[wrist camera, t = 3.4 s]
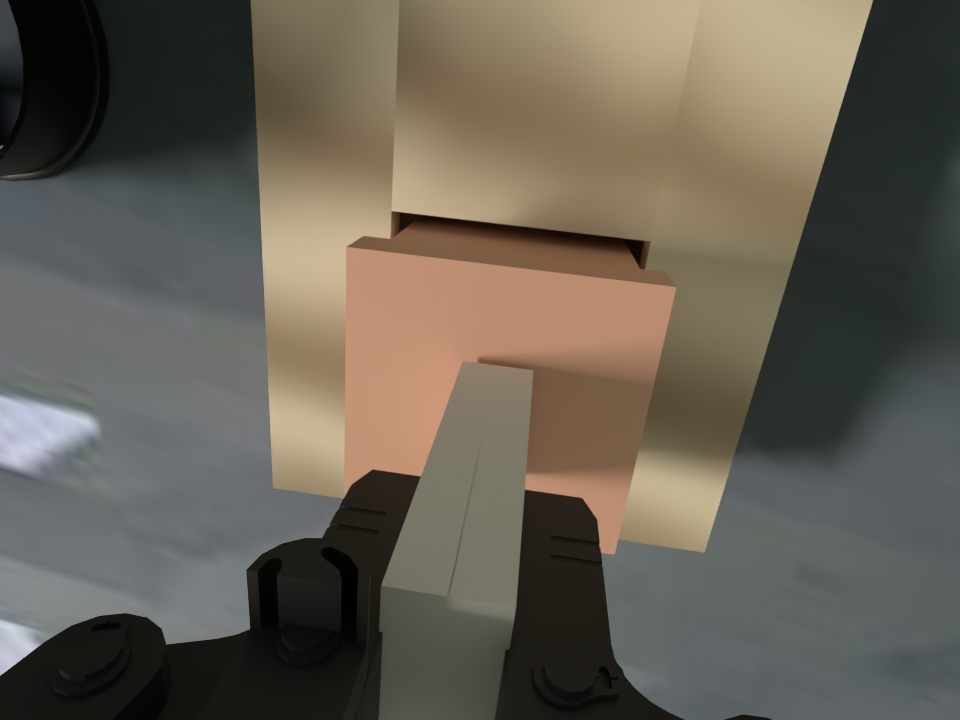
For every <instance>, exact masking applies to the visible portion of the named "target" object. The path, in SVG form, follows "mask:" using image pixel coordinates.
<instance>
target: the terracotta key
mask: <svg viewBox="0 0 960 720" xmlns="http://www.w3.org/2000/svg"><path fill="white" fill-rule="evenodd" d="M675 292H676V286H675V284H674V283H673V282H672V280H671V279H670V277H669V276H668V275H667V273H666V272H660V271H652V270H644V269H640V268H639V266H638V264H637V263H636V261H635V259H634V257H633V256H632V254H631V252H630V250H629V249H628V247H627V245H626V243H625V241H624V240H623V238H617V237H608V236H599V235H591V234H582V233H574V232H565V231H557V230H548V229H540V228H531V227H523V226H514V225H506V224H497V223H489V222H480V221H472V220H463V219H455V218H446V217H438V216H429V215H422V216H420V217H419V218H418V219H416V220H415V221H414V222H413V223H411V224H410V225H409V226H408V227H406V228H405V229H404V230H402V231H401V232H400V233H399V234H397V235H396V236H395V237H393V238H392V239H386V238H378V237H370V236H362V237H361V238H359V239H358V240H356V241H355V242H353V243H352V244H350V245H349V246H347V247H346V346H345V452H344V497H345V495H346V494H347V492H348V490H349V488H350V486H351V485H352V484H353V483H355V482H356V481H357V480H359V479H360V478H361V477H363V476H364V475H366V474H367V473H368V472H370V471H371V470H372V469H374V470H381V471H387V472H394V473H401V474H408V475H415V476H421V475H422V472H423V469H424V467H425V464H426V461H427V458H428V456H429V453H430V450H431V447H432V445H433V442H434V439H435V436H436V434H437V431H438V428H439V425H440V423H441V420H442V417H443V414H444V412H445V409H446V406H447V403H448V401H449V398H450V395H451V392H452V390H453V387H454V384H455V381H456V379H457V376H458V373H459V370H460V368H461V365H462V362H463V361H467V362H475V363H482V364H490V365H497V366H505V367H512V368H520V369H527V370H534V371H533V384H532V398H531V412H530V425H529V439H528V452H527V466H526V480H525V490H531V491H538V492H545V493H552V494H559V495H565V496H572V497H579V498H583V500H584V501H585V502H586V504H587V505H588V507H589V508H590V510H591V511H592V513H593V514H594V516H595V517H596V518H597V522H598V531H599V540H600V545H599V547H600V549H601V553H607V554H613V555H615V550H616V546H617V542H618V537H619V533H620V529H621V524H622V520H623V516H624V511H625V507H626V503H627V499H628V494H629V490H630V486H631V481H632V477H633V473H634V468H635V464H636V460H637V455H638V451H639V447H640V443H641V438H642V434H643V430H644V425H645V421H646V417H647V412H648V408H649V404H650V399H651V395H652V391H653V386H654V382H655V378H656V374H657V369H658V365H659V361H660V356H661V352H662V348H663V343H664V339H665V335H666V330H667V326H668V322H669V318H670V313H671V309H672V305H673V300H674V296H675Z"/></svg>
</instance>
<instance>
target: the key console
mask: <svg viewBox="0 0 960 720" xmlns="http://www.w3.org/2000/svg"><path fill="white" fill-rule="evenodd" d="M872 3H873V0H251V15H252V37H253V59H254V80H255V102H256V124H257V146H258V168H259V189H260V211H261V233H262V255H263V277H264V298H265V320H266V342H267V364H268V385H269V407H270V429H271V451H272V473H273V488H277V489H284V490H290V491H297V492H304V493H310V494H317V495H324V496H330V497H337V498H344V452H345V346H346V247H347V246H349V245H350V244H352V243H353V242H355V241H356V240H358V239H359V238H361V237H362V236H370V237H378V238H386V239H392V238H393V237H395V236H396V235H397V234H399V233H400V232H401V231H402V230H404V229H405V228H406V227H408V226H409V225H410V224H411V223H413V222H414V221H415V220H416V219H418V218H419V217H420V216H422V215H429V216H438V217H446V218H455V219H463V220H472V221H480V222H489V223H497V224H506V225H514V226H523V227H531V228H540V229H548V230H557V231H565V232H574V233H582V234H591V235H599V236H608V237H617V238H623V240H624V241H625V243H626V245H627V247H628V249H629V250H630V252H631V254H632V256H633V257H634V259H635V261H636V263H637V264H638V266H639V268H640V269H644V270H652V271H660V272H666V273H667V275H668V276H669V277H670V279H671V280H672V282H673V283H674V284H675V286H676V292H675V296H674V300H673V305H672V309H671V313H670V318H669V322H668V326H667V330H666V335H665V339H664V343H663V348H662V352H661V356H660V361H659V365H658V369H657V374H656V378H655V382H654V386H653V391H652V395H651V399H650V404H649V408H648V412H647V417H646V421H645V425H644V430H643V434H642V438H641V443H640V447H639V451H638V455H637V460H636V464H635V468H634V473H633V477H632V481H631V486H630V490H629V494H628V499H627V503H626V507H625V511H624V516H623V520H622V524H621V529H620V533H619V537H618V540H624V541H631V542H638V543H644V544H651V545H658V546H664V547H671V548H678V549H684V550H691V551H698V552H705V549H706V546H707V543H708V539H709V536H710V533H711V530H712V526H713V523H714V520H715V516H716V513H717V510H718V507H719V503H720V500H721V497H722V494H723V490H724V487H725V484H726V480H727V477H728V474H729V471H730V467H731V464H732V461H733V458H734V454H735V451H736V448H737V444H738V441H739V438H740V435H741V431H742V428H743V425H744V422H745V418H746V415H747V412H748V408H749V405H750V402H751V399H752V395H753V392H754V389H755V386H756V382H757V379H758V376H759V372H760V369H761V366H762V363H763V359H764V356H765V353H766V350H767V346H768V343H769V340H770V336H771V333H772V330H773V327H774V323H775V320H776V317H777V314H778V310H779V307H780V304H781V300H782V297H783V294H784V291H785V287H786V284H787V281H788V278H789V274H790V271H791V268H792V264H793V261H794V258H795V255H796V251H797V248H798V245H799V242H800V238H801V235H802V232H803V228H804V225H805V222H806V219H807V215H808V212H809V209H810V206H811V202H812V199H813V196H814V192H815V189H816V186H817V183H818V179H819V176H820V173H821V170H822V166H823V163H824V160H825V156H826V153H827V150H828V147H829V143H830V140H831V137H832V134H833V130H834V127H835V124H836V120H837V117H838V114H839V111H840V107H841V104H842V101H843V98H844V94H845V91H846V88H847V84H848V81H849V78H850V75H851V71H852V68H853V65H854V62H855V58H856V55H857V52H858V48H859V45H860V42H861V39H862V35H863V32H864V29H865V26H866V22H867V19H868V16H869V12H870V9H871V6H872Z"/></svg>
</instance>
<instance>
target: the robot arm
mask: <svg viewBox="0 0 960 720" xmlns="http://www.w3.org/2000/svg"><path fill="white" fill-rule="evenodd" d="M533 371H534V370H527V369H520V368H512V367H505V366H497V365H490V364H482V363H475V362H467V361H463V362H462V365H461V368H460V370H459V373H458V376H457V379H456V381H455V384H454V387H453V390H452V392H451V395H450V398H449V401H448V403H447V406H446V409H445V412H444V414H443V417H442V420H441V423H440V425H439V428H438V431H437V434H436V436H435V439H434V442H433V445H432V447H431V450H430V453H429V456H428V458H427V461H426V464H425V467H424V469H423V472H422V475H421V476H415V475H408V474H401V473H394V472H387V471H381V470H374V469H372V470H371V471H370V472H368V473H367V474H366V475H364V476H363V477H361V478H360V479H359V480H357V481H356V482H355V483H353V484H352V485H351V486H350V488H349V490H348V492H347V494H346V495H345V497H344V499H343V501H342V503H341V505H340V508H339V510H337V512H336V514H335V516H334V517H333V519H332V521H331V523H330V527H329V528H327V530H326V532H325V534H324V536H323V538H304V539H300V540H295V541H291V542H287V543H283V544H281V545H279V546H277V547H275V548H273V549H271V550H269V551H267V552H265V553H263V554H262V555H261V556H260V557H259V558H258V559H257V560H256V561H255V562H254V563H253V564H252V565H251V566H250V567H249V568H248V569H247V570H246V571H247V585H248V600H249V614H250V630H247V631H245V632H242V633H240V634H237V635H233V636H228V637H224V638H219V639H212V640H203V641H194V642H185V643H177V644H168V645H166V642H165V639H164V636H163V632H162V629H161V628H160V627H159V626H157V625H156V624H155V623H153V622H152V621H151V620H150V619H148V618H146V617H141V616H136V615H132V614H127V613H124V614H114V615H104V616H98V617H95V618H92V619H90V620H87V621H84V622H81V623H78V624H75V625H72V626H70V627H69V628H67V629H65V630H64V631H62V632H60V633H59V634H57V635H55V636H54V637H52V638H50V639H49V640H47V641H46V642H44V643H43V644H42V645H40V646H39V647H38V648H36V649H35V650H34V651H32V652H31V653H30V654H28V655H27V656H26V657H25V658H23V659H22V660H21V661H19V662H18V663H17V664H15V665H14V666H13V667H11V668H10V669H9V670H8V671H6V672H5V673H4V674H2V675H1V676H0V720H684V719H681V718H679V717H677V716H675V715H673V714H671V713H669V712H667V711H665V710H664V709H662V708H660V707H658V706H657V705H655V704H653V703H652V702H650V701H649V700H648V699H647V698H645V697H644V696H643V695H642V694H641V693H639V692H638V691H637V690H636V689H635V688H634V687H633V686H632V685H631V683H630V682H629V681H628V680H627V679H626V677H625V676H624V673H623V670H622V669H621V667H620V666H619V665H618V664H617V662H616V660H615V658H614V654H613V650H612V646H611V638H610V630H609V621H608V612H607V603H606V594H605V585H604V576H603V567H602V558H601V549H600V547H599V545H600V540H599V531H598V522H597V518H596V517H595V516H594V514H593V513H592V511H591V510H590V508H589V507H588V505H587V504H586V502H585V501H584V500H583V498H579V497H572V496H565V495H559V494H552V493H545V492H538V491H531V490H525V480H526V466H527V452H528V439H529V425H530V412H531V398H532V384H533ZM725 720H771V719H769V718H765V717H758V716H750V715H739V716H736V717H732V718H729V719H725Z"/></svg>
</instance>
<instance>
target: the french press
mask: <svg viewBox="0 0 960 720" xmlns="http://www.w3.org/2000/svg"><path fill="white" fill-rule="evenodd" d="M8 1H9V4H10V7H11V10H12V13H13V16H14V19H15V22H16V25H17V28H18V33H19V38H20V44H21V50H22V55H23V75H24V90H23V96H22V101H21V106H20V112H19V116H18V119H17V121H16V123H15V126H14V128H13V130H12V133H11V135H10V137H9V139H8V140H7V141H6V143H5V144H4V145H0V180H6V181H21V180H31V179H40V178H43V177H46V176H49V175H51V174H54V173H57V172H60V171H61V170H63V169H64V168H66V167H67V166H68V165H70V164H71V163H73V162H74V161H76V160H77V159H78V158H79V157H80V156H81V155H82V154H83V152H84V151H85V150H86V149H87V148H88V146H89V145H90V144H91V143H92V142H93V139H94V137H95V135H96V133H97V131H98V129H99V127H100V125H101V123H102V121H103V116H104V112H105V108H106V104H107V100H108V89H109V63H108V56H107V48H106V40H105V37H104V34H103V30H102V27H101V23H100V20H99V16H98V13H97V10H96V8H95V6H94V3H93V1H92V0H8Z"/></svg>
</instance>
